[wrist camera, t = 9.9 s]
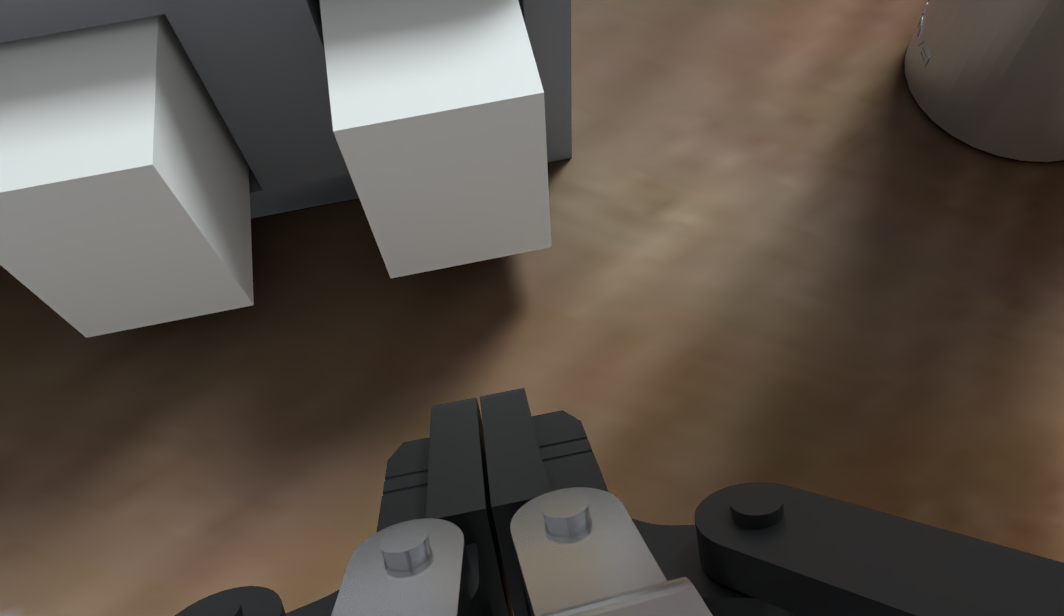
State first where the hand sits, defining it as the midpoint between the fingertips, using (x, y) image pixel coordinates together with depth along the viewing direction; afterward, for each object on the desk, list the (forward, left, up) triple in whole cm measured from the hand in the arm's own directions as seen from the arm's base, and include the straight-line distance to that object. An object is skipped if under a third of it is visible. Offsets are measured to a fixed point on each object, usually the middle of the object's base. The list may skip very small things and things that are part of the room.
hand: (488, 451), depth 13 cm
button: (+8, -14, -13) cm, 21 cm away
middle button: (+17, -9, -13) cm, 23 cm away
